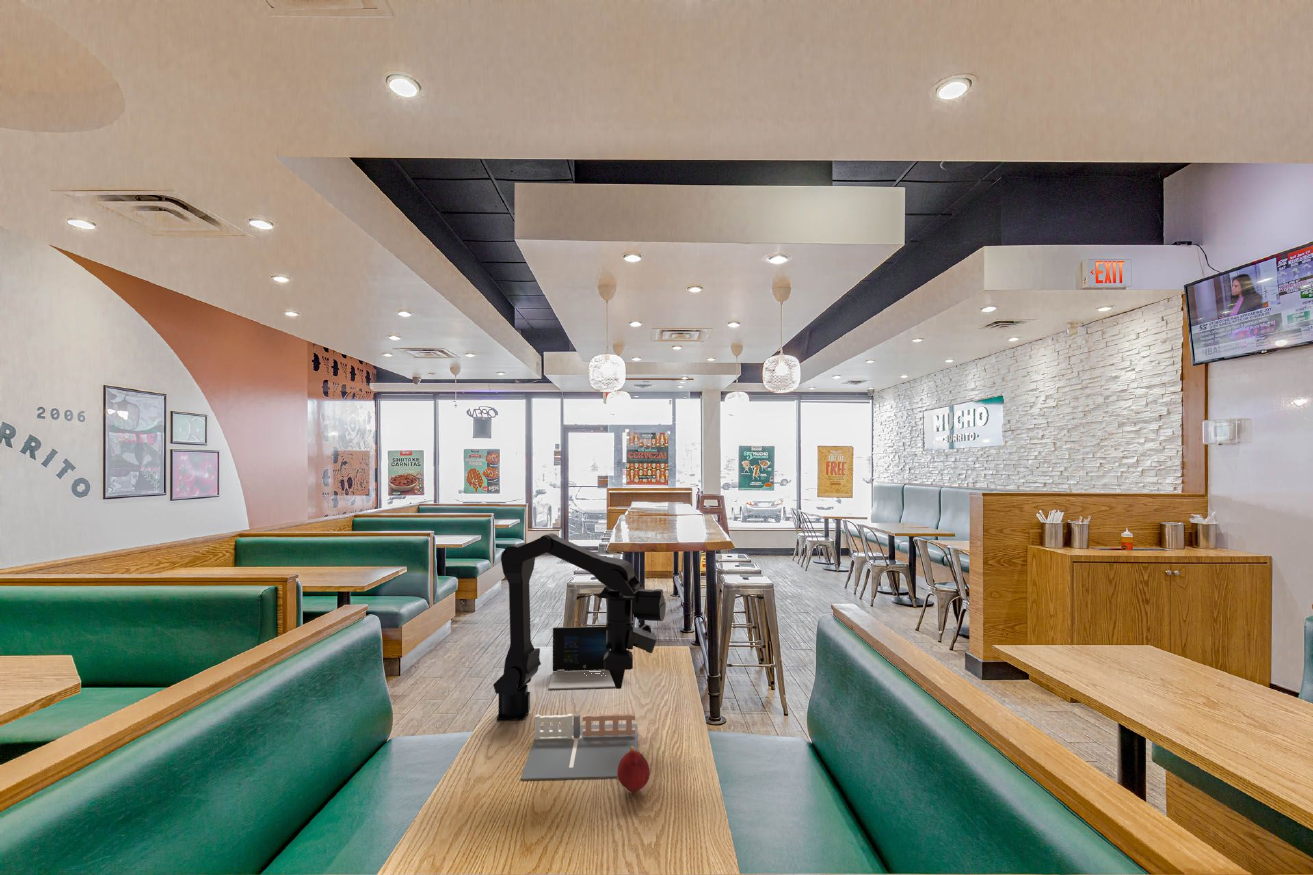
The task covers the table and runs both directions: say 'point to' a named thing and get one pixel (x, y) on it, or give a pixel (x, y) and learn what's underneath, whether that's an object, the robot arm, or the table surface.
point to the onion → (633, 771)
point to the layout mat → (578, 755)
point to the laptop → (579, 658)
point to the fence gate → (602, 730)
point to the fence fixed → (554, 726)
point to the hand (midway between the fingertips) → (618, 688)
